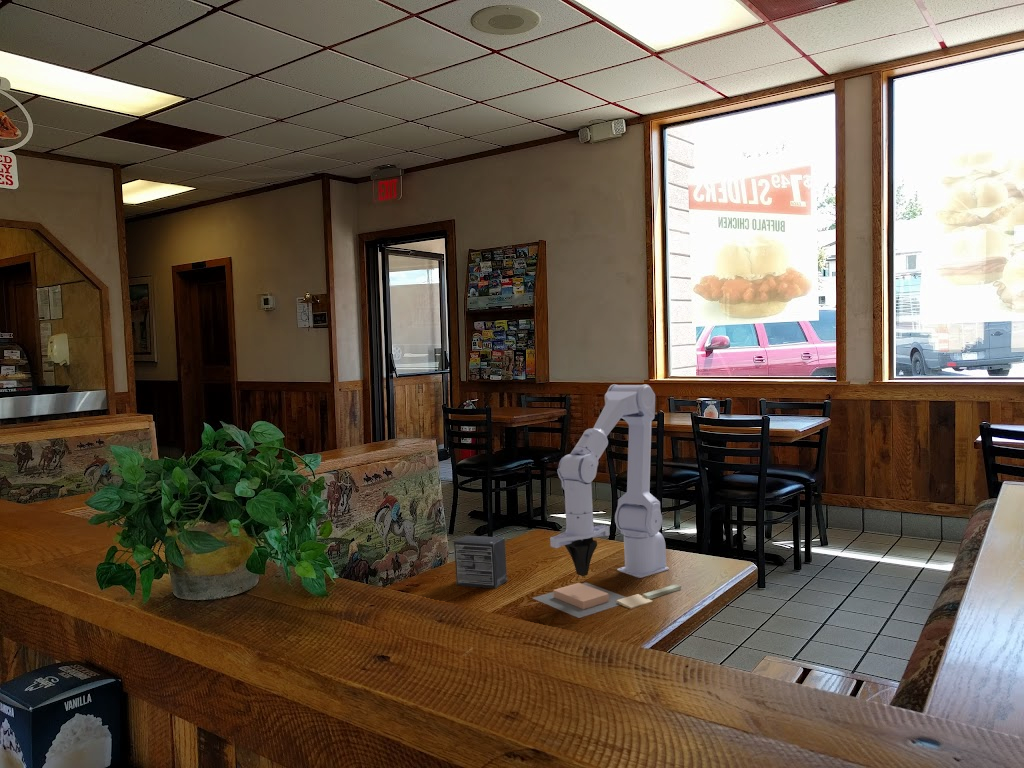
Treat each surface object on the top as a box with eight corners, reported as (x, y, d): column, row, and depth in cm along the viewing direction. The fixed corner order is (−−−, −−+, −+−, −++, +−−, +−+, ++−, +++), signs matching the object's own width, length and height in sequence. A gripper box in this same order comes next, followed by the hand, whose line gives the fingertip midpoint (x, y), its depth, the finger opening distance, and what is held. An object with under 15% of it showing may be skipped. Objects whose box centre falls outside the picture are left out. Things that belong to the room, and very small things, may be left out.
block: (578, 582, 171) (553, 589, 168) (609, 593, 163) (583, 601, 159) (579, 590, 172) (553, 597, 168) (609, 601, 163) (583, 609, 159)
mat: (585, 583, 177) (585, 582, 176) (634, 601, 163) (634, 600, 163) (531, 599, 168) (531, 597, 168) (579, 619, 155) (578, 617, 155)
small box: (508, 580, 182) (506, 536, 181) (496, 589, 176) (493, 544, 175) (468, 577, 186) (466, 533, 186) (455, 585, 180) (452, 541, 180)
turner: (671, 586, 171) (671, 581, 171) (686, 592, 167) (686, 588, 167) (616, 602, 162) (616, 597, 162) (631, 609, 158) (631, 605, 158)
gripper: (593, 502, 172) (596, 563, 173) (540, 514, 164) (543, 577, 165) (614, 507, 166) (617, 570, 167) (560, 519, 158) (564, 585, 159)
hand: (582, 574), depth 165 cm, fingers closed
